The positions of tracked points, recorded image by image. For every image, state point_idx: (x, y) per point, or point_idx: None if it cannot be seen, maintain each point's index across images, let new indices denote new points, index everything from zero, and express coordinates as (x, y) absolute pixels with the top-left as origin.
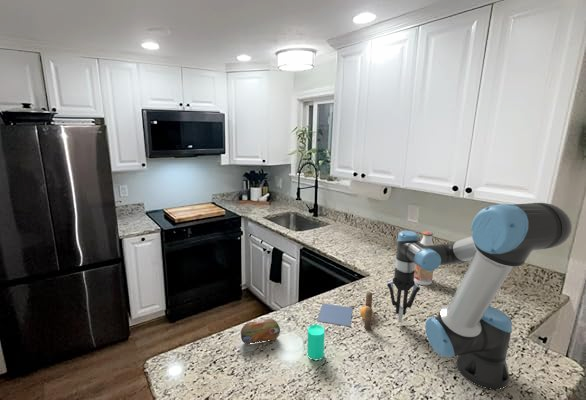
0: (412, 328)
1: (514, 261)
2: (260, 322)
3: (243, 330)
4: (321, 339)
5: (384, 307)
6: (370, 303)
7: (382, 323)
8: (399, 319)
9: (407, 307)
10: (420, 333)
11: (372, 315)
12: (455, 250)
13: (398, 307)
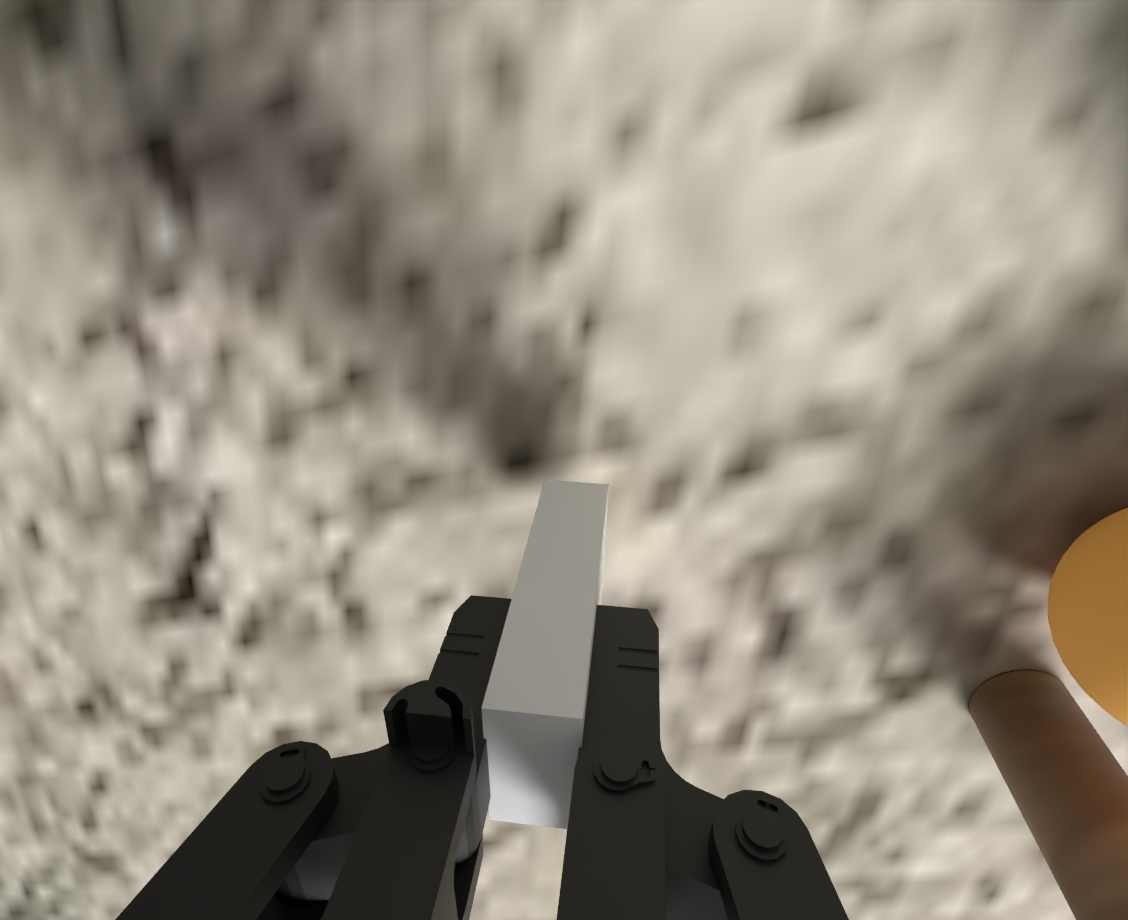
0: (393, 432)
1: None
2: None
3: None
4: None
5: (739, 785)
6: (1100, 836)
7: (861, 468)
8: (585, 515)
9: (367, 752)
10: (274, 334)
11: (1103, 569)
12: None
13: (610, 738)
